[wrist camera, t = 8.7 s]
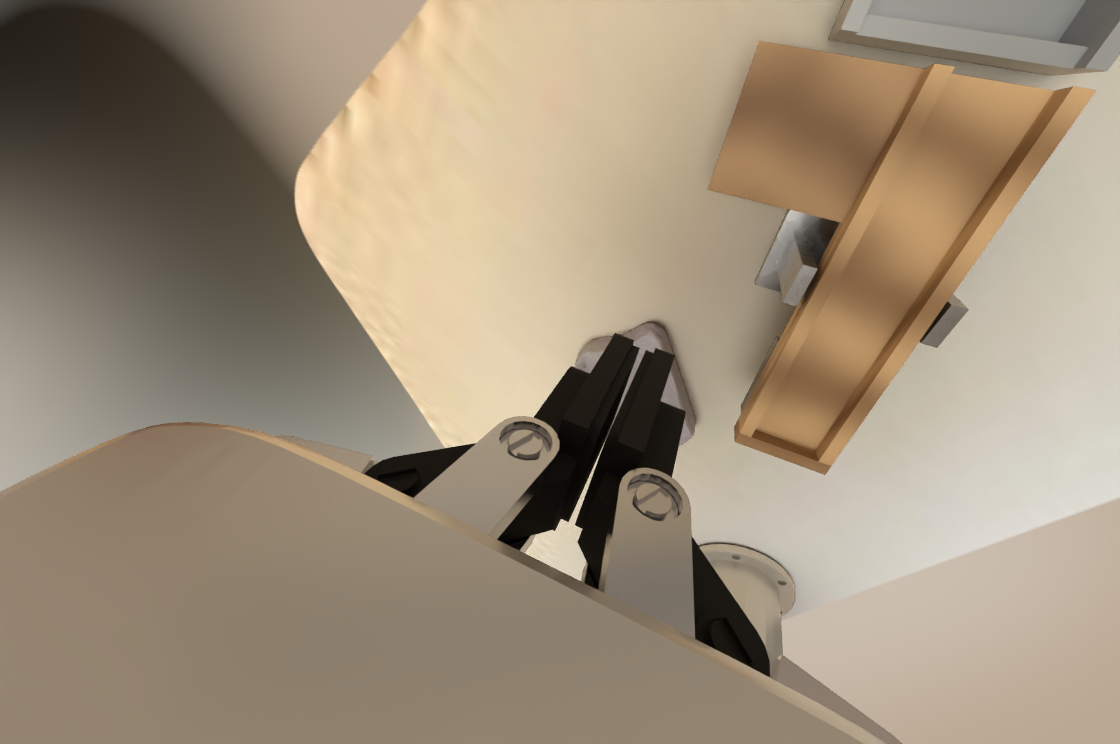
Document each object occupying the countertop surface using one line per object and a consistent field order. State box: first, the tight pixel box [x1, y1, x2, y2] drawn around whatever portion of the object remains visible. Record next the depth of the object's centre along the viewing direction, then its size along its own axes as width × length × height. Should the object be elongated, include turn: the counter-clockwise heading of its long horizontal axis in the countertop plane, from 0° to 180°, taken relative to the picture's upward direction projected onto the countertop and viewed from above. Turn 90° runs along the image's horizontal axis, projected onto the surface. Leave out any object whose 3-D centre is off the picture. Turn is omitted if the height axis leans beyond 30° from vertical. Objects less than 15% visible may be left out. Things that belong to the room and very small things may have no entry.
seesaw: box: [708, 41, 1096, 475], centre depth 26 cm, size 22×14×4 cm, turn 170°
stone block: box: [575, 323, 696, 445], centre depth 40 cm, size 12×5×10 cm
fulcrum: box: [755, 210, 969, 348], centre depth 26 cm, size 6×10×8 cm, turn 80°
